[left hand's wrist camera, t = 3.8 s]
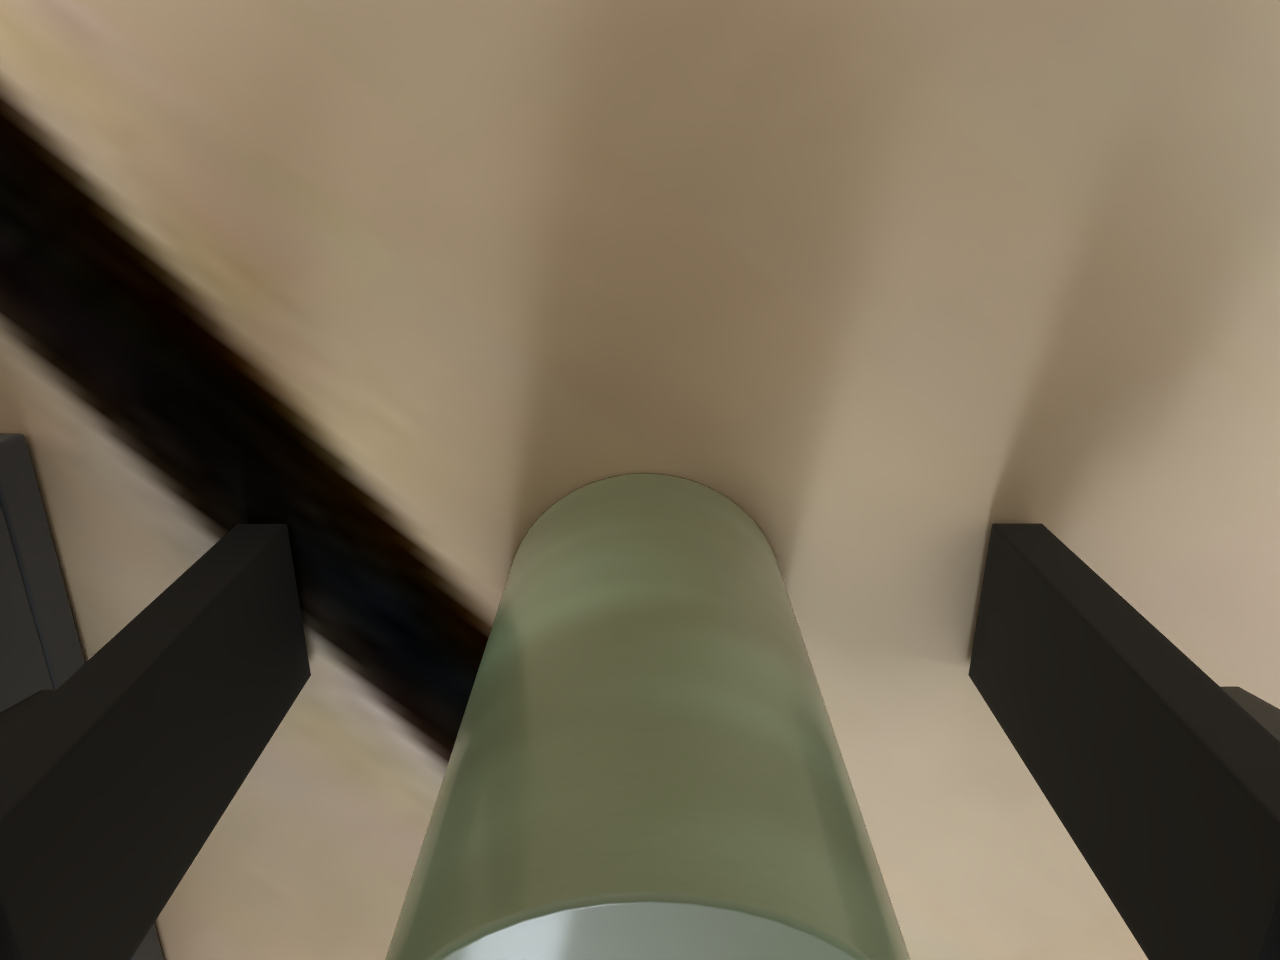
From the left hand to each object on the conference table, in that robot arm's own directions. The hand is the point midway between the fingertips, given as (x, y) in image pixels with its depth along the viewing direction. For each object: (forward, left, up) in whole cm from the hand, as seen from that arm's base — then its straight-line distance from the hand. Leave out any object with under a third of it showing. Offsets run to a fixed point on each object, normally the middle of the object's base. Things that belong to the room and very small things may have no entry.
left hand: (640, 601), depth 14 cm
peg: (0, 0, 0) cm, 0 cm away
